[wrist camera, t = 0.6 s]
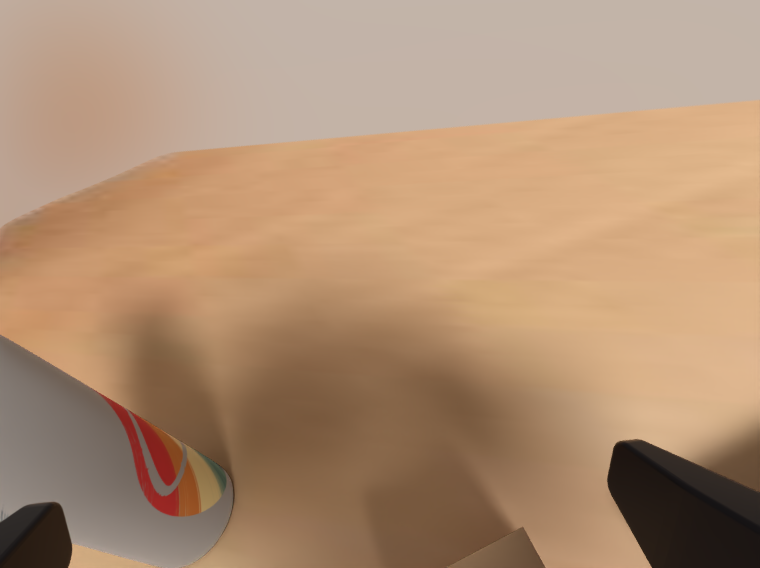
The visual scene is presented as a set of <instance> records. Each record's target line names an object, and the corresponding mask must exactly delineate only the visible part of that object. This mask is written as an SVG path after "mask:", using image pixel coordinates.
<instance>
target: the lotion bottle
mask: <svg viewBox="0 0 760 568" xmlns="http://www.w3.org/2000/svg"><path fill="white" fill-rule="evenodd" d="M44 502H58V503H59V504H60V505H61V506H62V508H63V511H64V515H65V519H66V523H67V526H68V530H69V534H70V538H71V541H72V543H73V544H76V545H80V546H84V547H87V548H91V549H94V550H98V551H102V552H105V553H109V554H112V555H116V556H120V557H123V558H127V559H130V560H134V561H138V562H141V563H145V564H149V565H153V566H158V567H163V568H181V567H185V566H188V565H190V564H192V563H194V562H195V561H197V560H199V559H200V558H201V557H203V556H204V555H205V554H206V553H207V552H208V551H209V550H210V549H211V548H212V547H213V546H214V545H215V543H216V542H217V541H218V539H219V538H220V536H221V535H222V533H223V531H224V529H225V527H226V525H227V523H228V521H229V518H230V515H231V511H232V506H233V486H232V482H231V479H230V477H229V475H228V474H227V473H226V471H225V470H224V469H223V468H222V467H221V466H219V465H218V464H217V463H215V462H214V461H212V460H211V459H209V458H207V457H206V456H204V455H203V454H201V453H199V452H198V451H196V450H194V449H193V448H191V447H189V446H188V445H186V444H184V443H183V442H181V441H179V440H178V439H176V438H174V437H173V436H171V435H169V434H167V433H166V432H164V431H162V430H161V429H159V428H157V427H156V426H154V425H152V424H151V423H149V422H147V421H146V420H144V419H142V418H141V417H139V416H137V415H136V414H134V413H132V412H131V411H129V410H127V409H126V408H124V407H122V406H121V405H119V404H117V403H115V402H114V401H112V400H110V399H109V398H107V397H105V396H104V395H102V394H100V393H99V392H97V391H95V390H94V389H92V388H90V387H89V386H87V385H85V384H84V383H82V382H80V381H79V380H77V379H75V378H74V377H72V376H70V375H68V374H67V373H65V372H63V371H62V370H60V369H58V368H57V367H55V366H53V365H52V364H50V363H48V362H47V361H45V360H43V359H42V358H40V357H38V356H37V355H35V354H33V353H31V352H30V351H28V350H26V349H25V348H23V347H21V346H20V345H18V344H16V343H14V342H13V341H11V340H9V339H7V338H6V337H4V336H2V335H0V522H1V521H3V520H4V519H6V518H7V517H8V516H10V515H11V514H13V513H14V512H16V511H17V510H19V509H20V508H22V507H23V506H26V505H29V504H34V503H44Z"/></svg>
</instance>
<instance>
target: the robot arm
mask: <svg viewBox="0 0 760 568" xmlns="http://www.w3.org/2000/svg"><path fill="white" fill-rule="evenodd" d="M607 482H608V488H609V491H610V493H611V495H612V497H613V499H614V501H615V502H616V504H617V506H618V508H619V510H620V511H621V513H622V515H623V517H624V518H625V520H626V522H627V524H628V526H629V527H630V529H631V531H632V533H633V535H634V536H635V538H636V540H637V542H638V544H639V545H640V547H641V549H642V551H643V552H644V554H645V556H646V558H647V560H648V561H649V563H650V565H651V567H652V568H760V492H758V491H755V490H753V489H751V488H749V487H746V486H744V485H742V484H740V483H737V482H735V481H733V480H731V479H728V478H726V477H724V476H722V475H719V474H717V473H715V472H713V471H710V470H708V469H706V468H704V467H702V466H699V465H697V464H695V463H693V462H690V461H688V460H686V459H684V458H681V457H679V456H677V455H675V454H672V453H670V452H668V451H666V450H663V449H661V448H659V447H657V446H654V445H652V444H650V443H648V442H645V441H643V440H639V439H634V440H624V441H619V442H617V443H616V444H615V446H614V448H613V453H612V458H611V463H610V467H609V472H608V478H607ZM71 556H72V541H71V538H70V534H69V530H68V526H67V523H66V519H65V515H64V511H63V508H62V506H61V505H60V504H59V503H58V502H44V503H34V504H29V505H26V506H23V507H22V508H20V509H19V510H17V511H16V512H14V513H13V514H11V515H10V516H8V517H7V518H6V519H4V520H3V521H1V522H0V568H68V566H69V564H70V560H71Z"/></svg>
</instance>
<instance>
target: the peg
mask: <svg viewBox="0 0 760 568" xmlns="http://www.w3.org/2000/svg"><path fill="white" fill-rule="evenodd" d="M446 568H545V566H544V564H543V562H542V560H541V559H540V557H539V555H538V553H537V551H536V550H535V548H534V546H533V544H532V542H531V541H530V539H529V537H528V535H527V533H526V531H525V530H524V528H523V527H522V528H520V529H518V530H516V531H514V532H512V533H510V534H508V535H506V536H505V537H503V538H501V539H499V540H497V541H495V542H493V543H491V544H489V545H488V546H486V547H484V548H482V549H480V550H478V551H476V552H474V553H472V554H471V555H469V556H467V557H465V558H463V559H461V560H459V561H457V562H455V563H454V564H452V565H450V566H448V567H446Z"/></svg>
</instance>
